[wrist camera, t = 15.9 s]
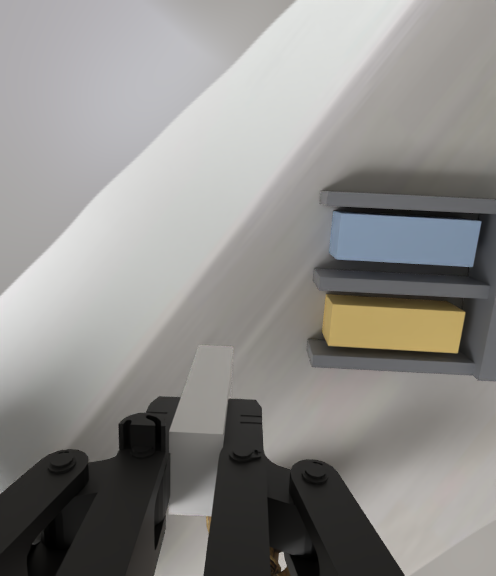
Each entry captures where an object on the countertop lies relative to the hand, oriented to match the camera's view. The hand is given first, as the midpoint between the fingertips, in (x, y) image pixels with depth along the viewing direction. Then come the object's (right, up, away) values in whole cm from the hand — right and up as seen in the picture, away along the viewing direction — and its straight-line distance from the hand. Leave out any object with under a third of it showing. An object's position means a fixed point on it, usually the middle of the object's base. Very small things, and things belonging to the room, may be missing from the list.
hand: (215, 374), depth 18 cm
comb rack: (+16, +5, +22) cm, 28 cm away
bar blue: (+15, +9, +21) cm, 28 cm away
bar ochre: (+15, +1, +23) cm, 28 cm away
